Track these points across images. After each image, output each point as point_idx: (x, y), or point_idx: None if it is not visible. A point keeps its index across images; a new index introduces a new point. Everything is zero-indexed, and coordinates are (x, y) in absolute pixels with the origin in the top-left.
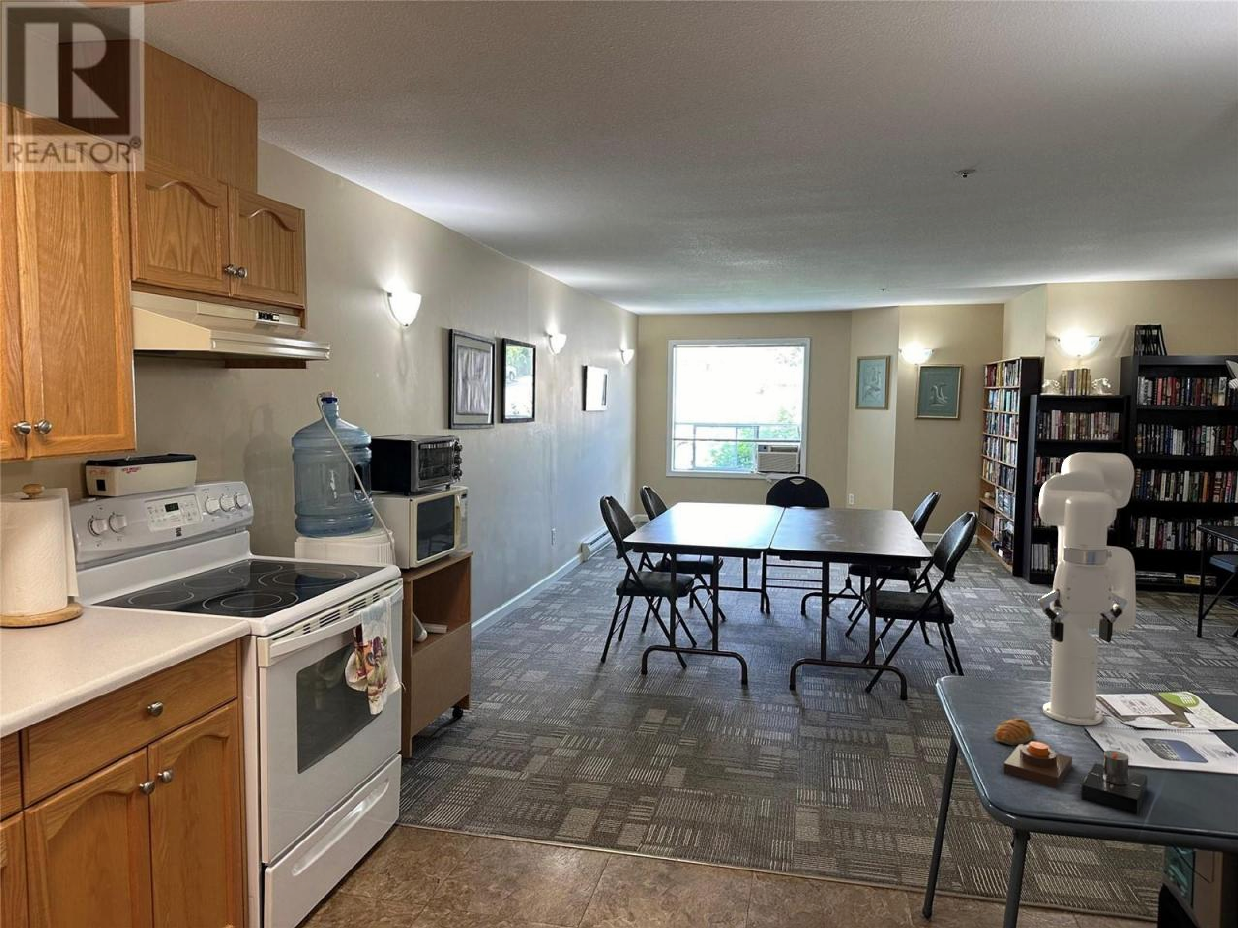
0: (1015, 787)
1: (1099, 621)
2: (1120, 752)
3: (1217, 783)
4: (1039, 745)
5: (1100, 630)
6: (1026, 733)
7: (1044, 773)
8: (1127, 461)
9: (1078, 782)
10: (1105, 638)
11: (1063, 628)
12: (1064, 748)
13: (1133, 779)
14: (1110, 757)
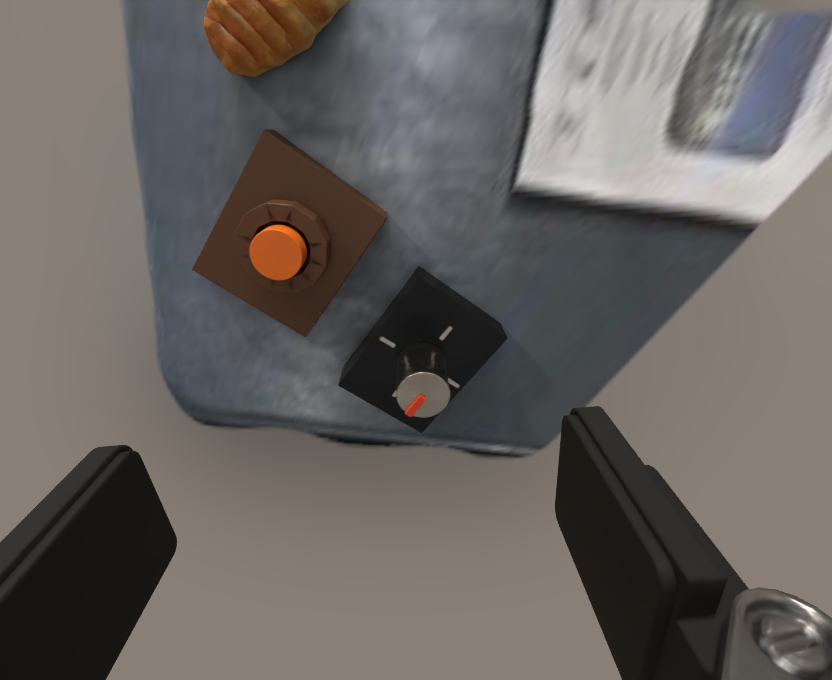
0: (219, 327)
1: (646, 558)
2: (441, 382)
3: (684, 279)
4: (277, 258)
5: (593, 486)
6: (306, 36)
7: (280, 318)
8: None
9: (368, 295)
10: (563, 509)
11: (108, 673)
12: (421, 79)
13: (464, 356)
14: (401, 407)
